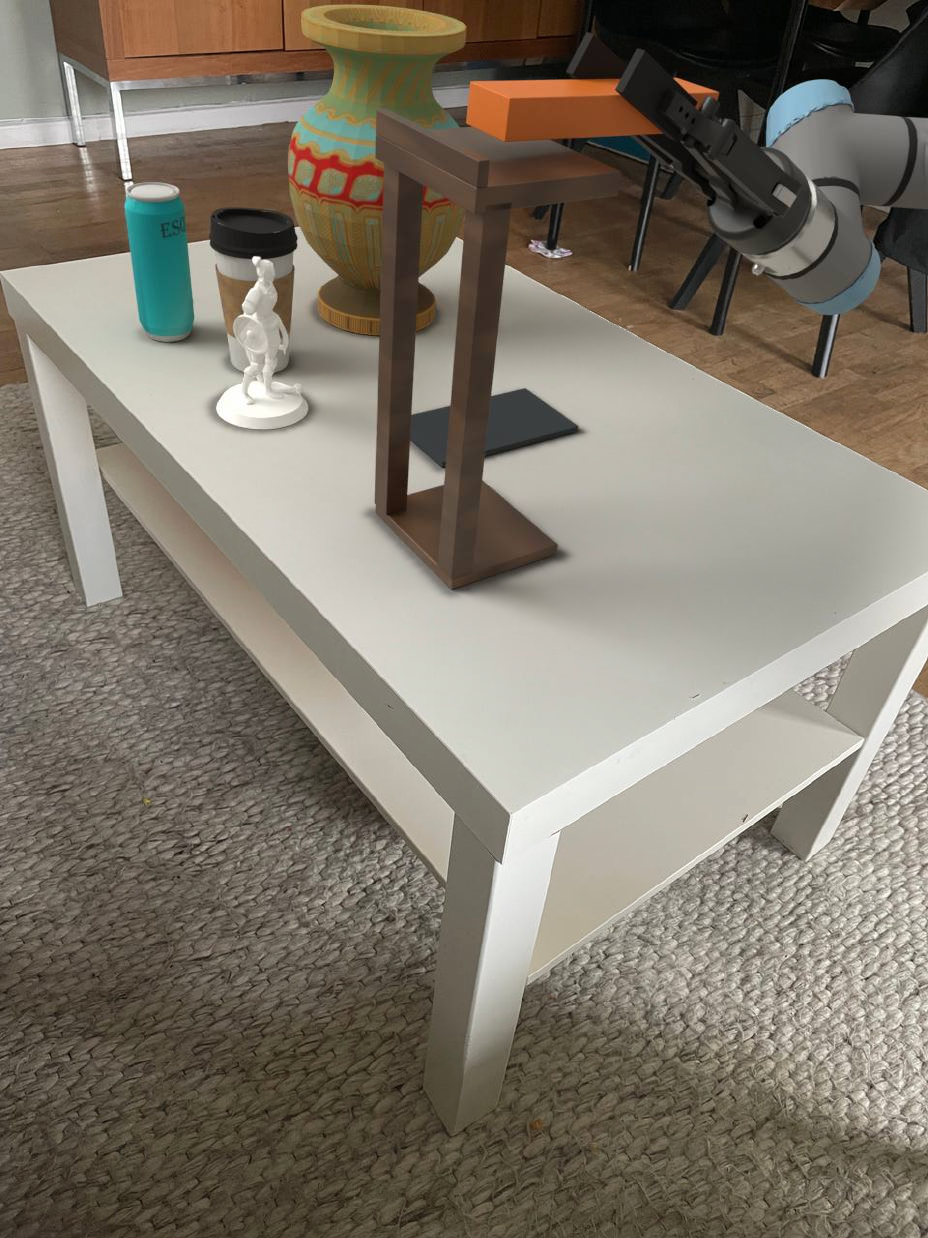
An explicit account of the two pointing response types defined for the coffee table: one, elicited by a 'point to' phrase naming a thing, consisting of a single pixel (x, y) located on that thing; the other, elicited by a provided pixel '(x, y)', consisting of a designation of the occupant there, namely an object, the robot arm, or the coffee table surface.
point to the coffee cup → (252, 267)
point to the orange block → (560, 109)
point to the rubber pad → (494, 425)
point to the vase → (368, 151)
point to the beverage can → (160, 260)
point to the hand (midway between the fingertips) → (604, 61)
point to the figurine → (261, 363)
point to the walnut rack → (459, 331)
